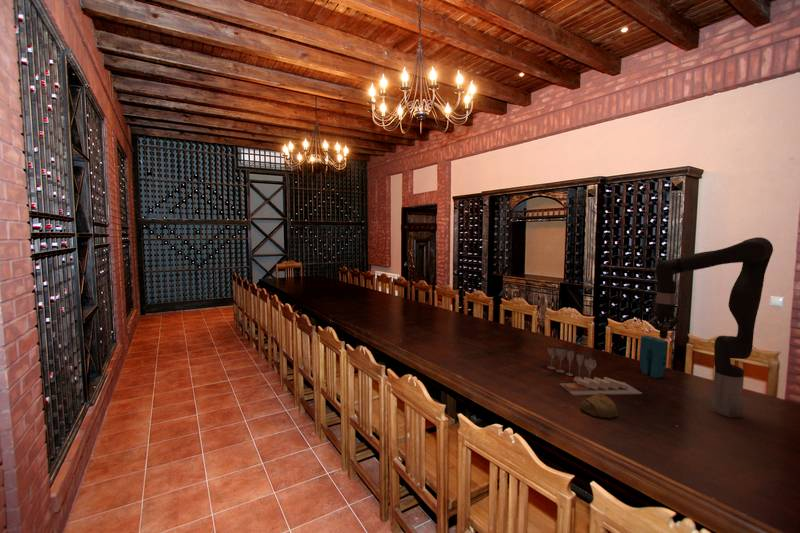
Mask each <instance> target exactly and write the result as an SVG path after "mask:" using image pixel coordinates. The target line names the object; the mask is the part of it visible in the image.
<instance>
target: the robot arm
mask: <svg viewBox="0 0 800 533" xmlns="http://www.w3.org/2000/svg"><path fill="white" fill-rule="evenodd" d="M773 252H774V247H773V244H772V242H771V241H770V240H769V239H768V238H765V237H761V236H759V237H758V236H757V237H753V238H748V239H745V240H743V241H741V242H739V243H736V244H734V245H731V246H728V247H724V248H720V249H715V250H709V251H703V252H697V253H692V254H688V255H684V256H681V257H678V258H673V259H662V260H660V261H658V262H657V264H656V267H655V275H656V280H657V292H656V297H655V300H656V301H655V315H654V317H653V318H650V319H649V320H650V322H651V324H652V325H653V327H654V328H655V329H657V330H659V339H662V340H667V338H668V334H669V331H670V330H671V331H672V330H673V329H674V327H676V325H678V322H680V320H679V319H678V318H676V317H675V313H676V304H677V296H676V295H677V294H676V293H677V282H676V281H675V280H674V279H673V275H677V274H682V273H686V272H692V271H698V270H704V269H708V268H713V267H716V266H721V265H727V264H737V263H739V264H741V263H742V265H741V270H740V272H739V274H738V277H737V278H736V279H735V282H734V283H733V285H732V287H731V291H730V294H729V300H728V304H727V305H728V309H729V311H730V313H731V315H732V317H733V318H734V320H735V321H736V324H737V334H736V336H734V335H731V336H730V335H719V336H717V337H716V338H715V340H714V347H713V348H714V350H713V351H714V354H713V357H714V358H713V364H714V375H713V376H714V377H713V387H712V398H711V399H712V400H711V411H713V412H714V413H716V414H719V415H721V416H724V417H727V418H743V412H744V403H745V395H744V394H743V386H744V378H745V377H744V375H745V374H744V373H745V371H744V369H743V368H742V367H740V366H737V365H735V364H732V363H731V359H733V360H734V359H735V360H737V359H738V360H746V359H749V357H750V356H751V354H752V350H753V344H754V335H755V334H754V333H755V325H756V319H757V316H758V311H759V308H760V305H761V300H762V293H763V288H764V283H765V282H764V281H765V276H766V271H767V268H768V267H769V266H768V265H769V263H770V260H771V257H772V255H773Z"/></svg>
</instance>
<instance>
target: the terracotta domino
mask: <svg viewBox="0 0 800 533" xmlns="http://www.w3.org/2000/svg"><path fill="white" fill-rule="evenodd" d="M564 388H566V389H567V390H568V391H589V387H586V386H583V385H580V384H578V383H577V382H572V383H571V382H570V383H569V382H568V384H564ZM564 388H563V389H564ZM566 389H565V390H566ZM567 390H566V391H567ZM568 391H567V392H568Z"/></svg>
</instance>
